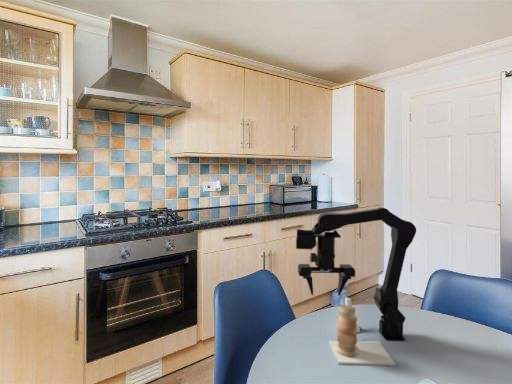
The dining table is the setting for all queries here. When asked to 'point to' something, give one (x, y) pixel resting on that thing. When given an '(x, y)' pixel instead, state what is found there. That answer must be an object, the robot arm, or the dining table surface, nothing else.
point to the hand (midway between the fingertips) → (325, 294)
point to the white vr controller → (349, 303)
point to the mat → (365, 354)
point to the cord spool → (347, 332)
